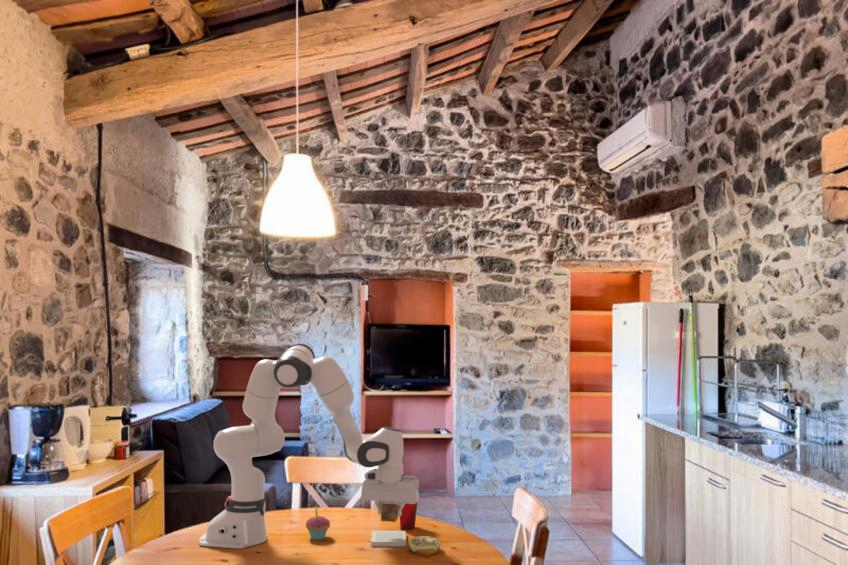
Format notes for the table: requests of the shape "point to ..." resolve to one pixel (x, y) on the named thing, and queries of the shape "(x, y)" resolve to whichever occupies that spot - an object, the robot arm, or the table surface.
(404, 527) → the french fries
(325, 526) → the cupcake
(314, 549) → the table surface
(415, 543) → the decorated donut
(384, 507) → the walnut cube
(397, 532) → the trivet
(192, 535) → the table surface
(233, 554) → the table surface
